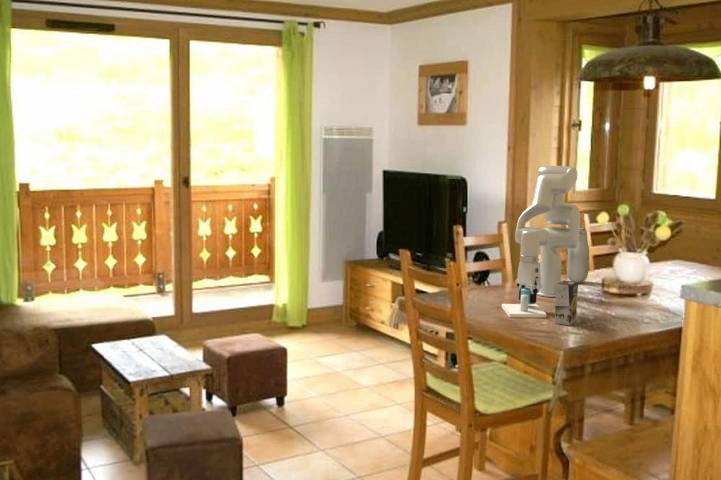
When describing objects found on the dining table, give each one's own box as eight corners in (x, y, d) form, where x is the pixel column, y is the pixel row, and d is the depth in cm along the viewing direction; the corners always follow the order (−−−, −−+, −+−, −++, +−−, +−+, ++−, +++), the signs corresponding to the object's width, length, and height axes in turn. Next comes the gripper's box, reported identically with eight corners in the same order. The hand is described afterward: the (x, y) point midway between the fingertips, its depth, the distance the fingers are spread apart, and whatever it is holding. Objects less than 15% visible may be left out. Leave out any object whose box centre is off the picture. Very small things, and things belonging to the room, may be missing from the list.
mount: (536, 307, 336) (537, 289, 335) (546, 317, 318) (547, 298, 317) (501, 307, 336) (502, 289, 335) (509, 317, 318) (510, 298, 317)
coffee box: (569, 325, 306) (572, 285, 303) (553, 323, 309) (555, 283, 307) (576, 320, 313) (578, 281, 311) (561, 318, 317) (563, 279, 314)
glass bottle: (570, 279, 399) (573, 225, 395) (590, 282, 393) (593, 227, 389) (563, 282, 391) (566, 227, 387) (583, 285, 386) (586, 229, 382)
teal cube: (537, 303, 330) (538, 289, 329) (527, 305, 327) (527, 291, 326) (528, 300, 335) (528, 287, 334) (517, 302, 332) (518, 288, 331)
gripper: (550, 261, 323) (548, 304, 325) (522, 255, 338) (520, 296, 340) (536, 263, 319) (534, 306, 322) (508, 257, 334) (507, 298, 337)
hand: (527, 300), depth 331 cm, fingers closed on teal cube, 6 cm apart
